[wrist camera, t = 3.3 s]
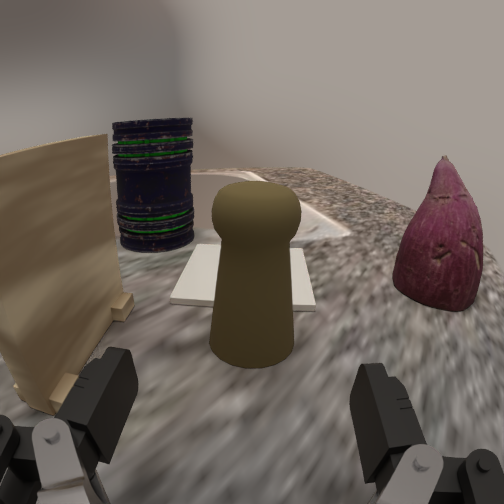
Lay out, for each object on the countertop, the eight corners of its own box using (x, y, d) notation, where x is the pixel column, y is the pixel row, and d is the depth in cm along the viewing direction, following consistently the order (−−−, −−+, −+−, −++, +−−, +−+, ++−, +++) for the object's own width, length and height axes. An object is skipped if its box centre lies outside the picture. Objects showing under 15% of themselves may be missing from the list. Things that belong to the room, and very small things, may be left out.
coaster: (170, 303, 26) (169, 297, 26) (197, 248, 37) (197, 243, 37) (314, 311, 26) (315, 305, 26) (301, 253, 37) (302, 248, 37)
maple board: (18, 402, 14) (-60, 173, 9) (95, 299, 26) (74, 137, 21) (67, 420, 14) (-15, 162, 9) (135, 303, 26) (119, 132, 21)
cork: (206, 318, 25) (201, 175, 20) (281, 313, 26) (292, 175, 21) (213, 372, 19) (207, 197, 15) (305, 362, 20) (327, 196, 16)
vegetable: (378, 290, 36) (372, 160, 34) (451, 281, 35) (447, 160, 33) (412, 322, 25) (407, 146, 23) (498, 305, 25) (497, 151, 22)
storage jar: (176, 257, 35) (171, 118, 29) (105, 248, 37) (94, 124, 31) (205, 228, 44) (205, 117, 38) (143, 223, 46) (138, 121, 40)
